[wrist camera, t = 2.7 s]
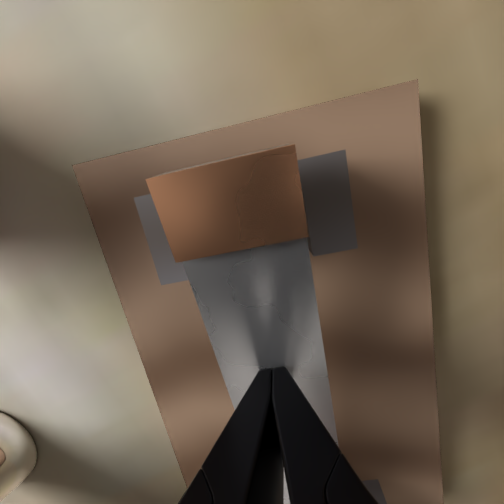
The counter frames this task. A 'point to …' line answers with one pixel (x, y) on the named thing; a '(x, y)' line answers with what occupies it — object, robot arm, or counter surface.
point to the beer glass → (14, 454)
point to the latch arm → (249, 268)
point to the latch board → (324, 276)
